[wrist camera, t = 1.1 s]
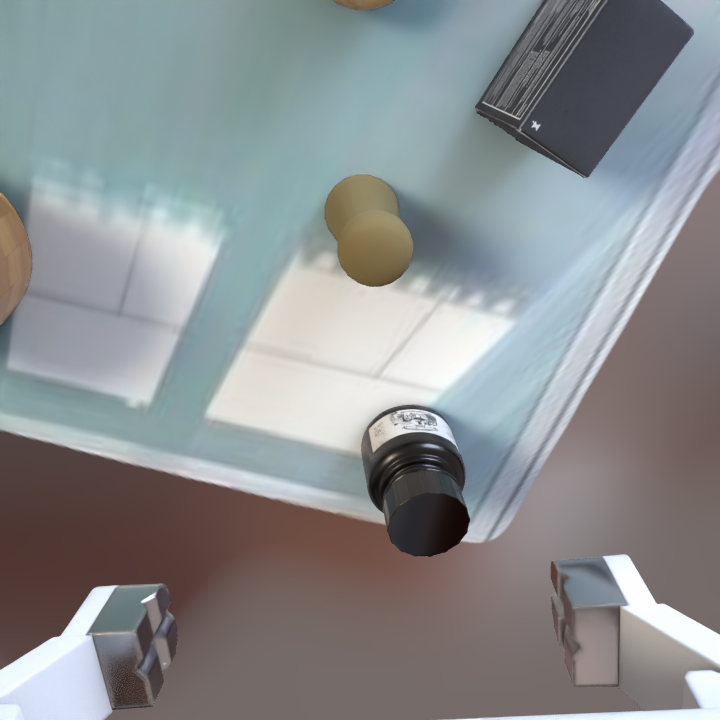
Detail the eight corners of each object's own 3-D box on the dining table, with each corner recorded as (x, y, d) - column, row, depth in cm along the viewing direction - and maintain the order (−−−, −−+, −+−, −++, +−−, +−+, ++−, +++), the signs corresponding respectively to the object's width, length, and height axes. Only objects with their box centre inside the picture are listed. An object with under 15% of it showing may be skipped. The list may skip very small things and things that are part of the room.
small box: (536, 154, 53) (589, 185, 44) (471, 109, 51) (512, 132, 42) (624, 28, 50) (702, 33, 40) (558, -26, 47) (624, -34, 38)
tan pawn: (330, 253, 55) (339, 305, 46) (319, 180, 53) (326, 219, 43) (402, 242, 56) (426, 292, 46) (395, 169, 53) (419, 205, 43)
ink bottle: (465, 409, 64) (501, 489, 53) (441, 482, 68) (470, 570, 57) (366, 395, 62) (383, 475, 52) (347, 472, 66) (359, 560, 55)
